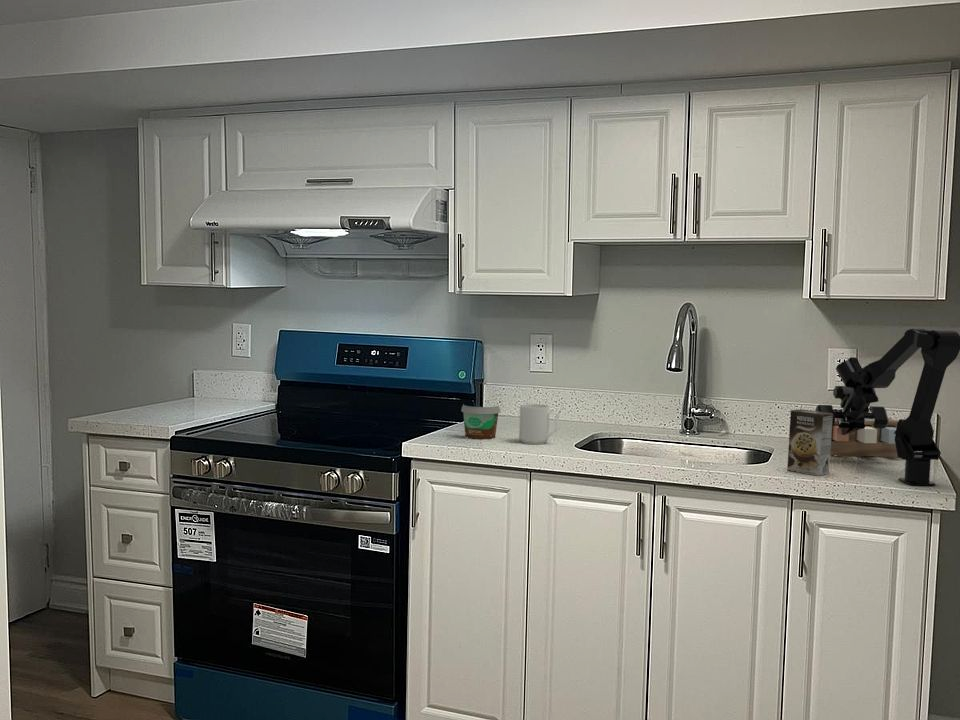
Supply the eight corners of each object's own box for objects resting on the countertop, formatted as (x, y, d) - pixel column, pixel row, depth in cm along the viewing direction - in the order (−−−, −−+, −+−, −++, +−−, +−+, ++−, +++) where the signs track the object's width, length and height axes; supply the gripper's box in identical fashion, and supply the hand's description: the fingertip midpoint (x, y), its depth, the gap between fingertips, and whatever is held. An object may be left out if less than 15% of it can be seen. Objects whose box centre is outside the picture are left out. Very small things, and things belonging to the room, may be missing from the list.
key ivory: (876, 443, 268) (877, 429, 268) (864, 443, 268) (865, 429, 268) (867, 439, 274) (868, 426, 274) (855, 439, 274) (856, 425, 274)
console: (899, 457, 274) (901, 422, 273) (824, 455, 273) (826, 420, 272) (881, 450, 285) (883, 416, 285) (809, 448, 285) (810, 414, 284)
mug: (514, 443, 283) (515, 406, 282) (525, 439, 291) (526, 403, 290) (552, 446, 278) (553, 409, 277) (562, 442, 286) (563, 406, 285)
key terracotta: (848, 441, 270) (849, 427, 270) (836, 441, 270) (837, 427, 270) (840, 437, 276) (840, 424, 276) (828, 437, 276) (829, 424, 276)
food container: (456, 438, 288) (457, 406, 287) (460, 435, 294) (461, 403, 293) (496, 440, 286) (497, 408, 285) (499, 437, 292) (500, 405, 291)
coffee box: (786, 470, 249) (789, 410, 248) (797, 468, 253) (800, 408, 252) (819, 476, 242) (822, 414, 241) (830, 473, 247) (833, 412, 246)
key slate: (900, 443, 268) (901, 429, 268) (888, 443, 268) (889, 429, 268) (891, 440, 274) (892, 426, 274) (879, 440, 274) (880, 426, 274)
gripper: (887, 378, 263) (870, 412, 275) (819, 376, 263) (805, 410, 275) (896, 410, 255) (878, 443, 267) (826, 408, 256) (812, 441, 268)
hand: (843, 433), depth 270 cm, fingers closed
